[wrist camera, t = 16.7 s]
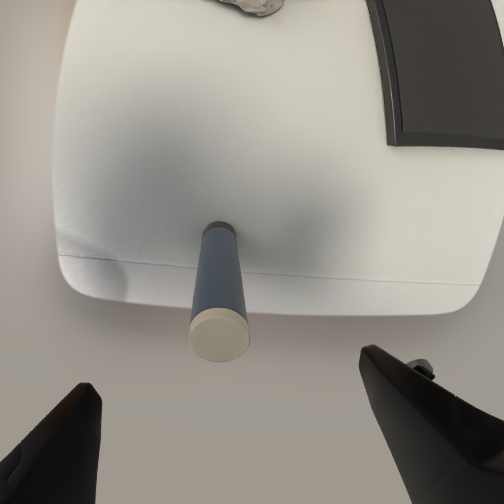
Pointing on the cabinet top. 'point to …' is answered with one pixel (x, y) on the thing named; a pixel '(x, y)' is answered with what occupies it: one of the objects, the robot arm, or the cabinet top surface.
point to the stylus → (219, 298)
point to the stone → (258, 5)
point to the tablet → (440, 72)
